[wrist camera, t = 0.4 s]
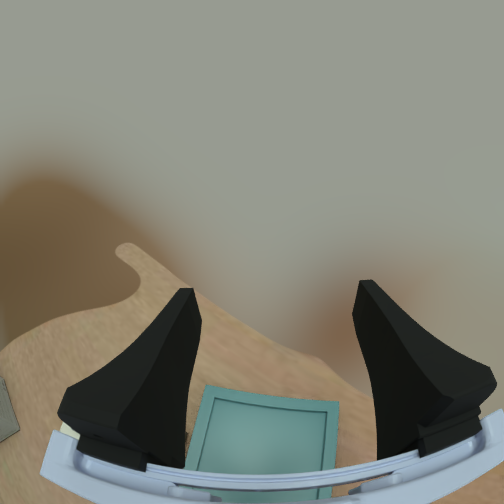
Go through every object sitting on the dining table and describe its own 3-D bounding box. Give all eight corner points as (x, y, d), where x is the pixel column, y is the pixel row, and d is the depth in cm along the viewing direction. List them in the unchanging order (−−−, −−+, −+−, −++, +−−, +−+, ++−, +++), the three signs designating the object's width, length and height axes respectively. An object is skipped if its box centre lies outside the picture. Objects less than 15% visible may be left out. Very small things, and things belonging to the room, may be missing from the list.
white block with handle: (153, 480, 19) (131, 478, 15) (81, 448, 20) (50, 436, 15) (163, 445, 22) (144, 435, 18) (92, 417, 23) (64, 399, 19)
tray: (322, 522, 15) (326, 524, 14) (177, 504, 17) (174, 505, 16) (335, 405, 26) (339, 401, 25) (207, 389, 27) (205, 384, 26)
